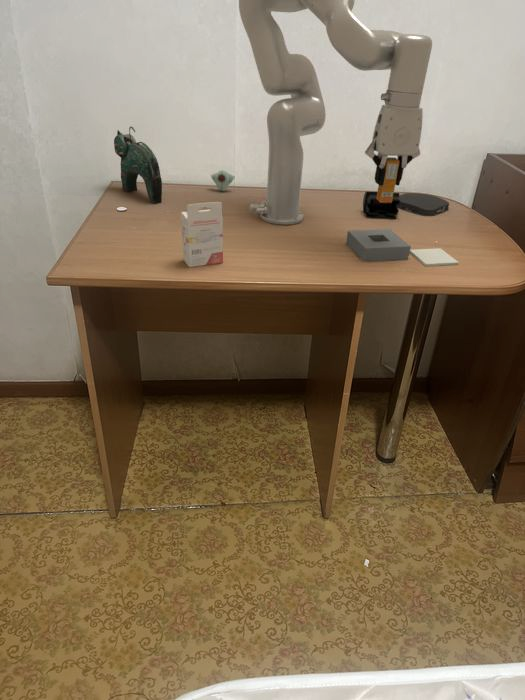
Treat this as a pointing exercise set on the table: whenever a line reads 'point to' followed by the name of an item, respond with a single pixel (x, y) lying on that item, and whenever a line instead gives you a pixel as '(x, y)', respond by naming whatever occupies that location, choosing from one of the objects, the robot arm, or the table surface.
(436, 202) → the media streaming box
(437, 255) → the rubber mat
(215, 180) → the valved respirator
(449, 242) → the table surface
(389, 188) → the supplement box
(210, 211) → the ink cartridge box
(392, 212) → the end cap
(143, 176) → the ceramic cat
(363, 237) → the pocket block
